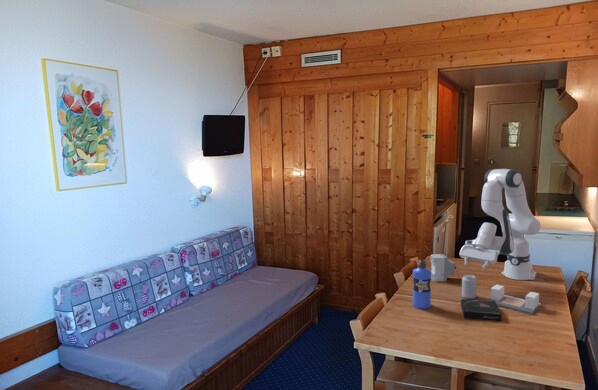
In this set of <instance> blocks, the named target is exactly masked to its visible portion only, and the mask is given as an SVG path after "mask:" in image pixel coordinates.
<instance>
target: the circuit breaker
mask: <svg viewBox="0 0 598 390" xmlns="http://www.w3.org/2000/svg"><path fill="white" fill-rule="evenodd" d="M429 257H430V258H429V262H430V263H431V280H432V282H433V283H435V282H448V276H455V270H456V269H457V267H456V265H455V262H453V261H452V260H451V259H448V257H447V255H445V254H442V253H440V254H438V253H437V254H436V253H435V254H430V256H429Z"/></svg>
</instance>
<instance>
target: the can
mask: <svg viewBox="0 0 598 390" xmlns="http://www.w3.org/2000/svg"><path fill="white" fill-rule="evenodd" d="M477 281H478V279H477V278H476V276H475V275H473V274H464V275H463V277H462V278H461V296H462V297H463V299H467V300H475V298H476V297H477V291H478V290H477V288H478V287H477V286H478V283H477Z"/></svg>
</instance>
